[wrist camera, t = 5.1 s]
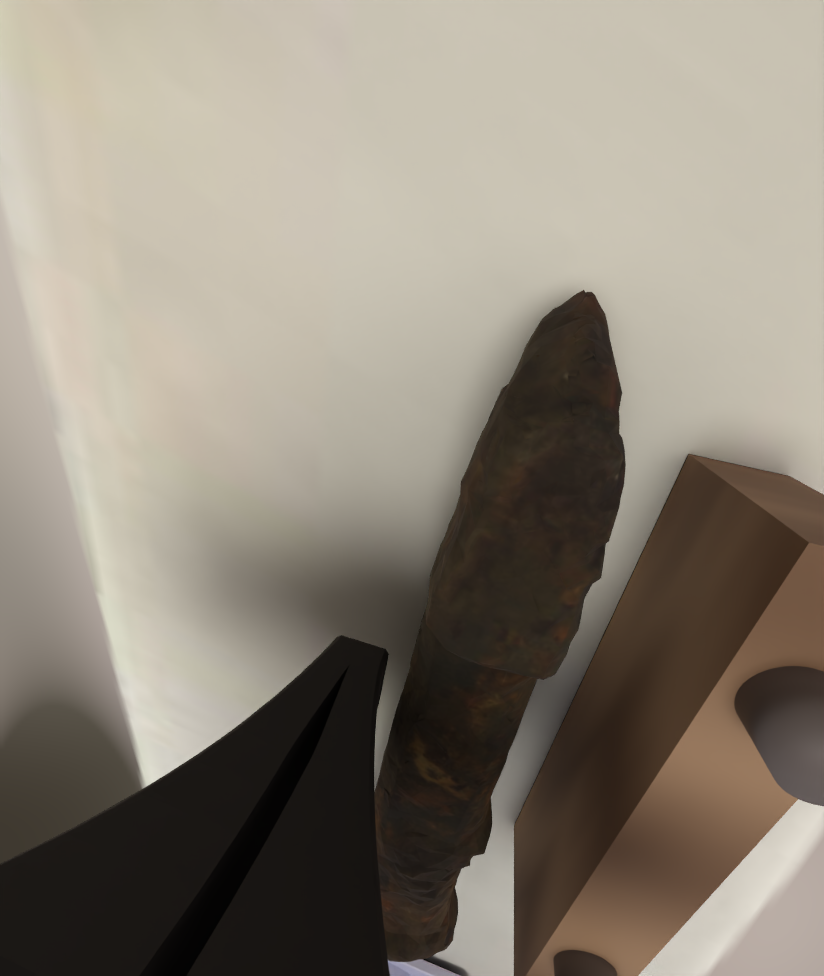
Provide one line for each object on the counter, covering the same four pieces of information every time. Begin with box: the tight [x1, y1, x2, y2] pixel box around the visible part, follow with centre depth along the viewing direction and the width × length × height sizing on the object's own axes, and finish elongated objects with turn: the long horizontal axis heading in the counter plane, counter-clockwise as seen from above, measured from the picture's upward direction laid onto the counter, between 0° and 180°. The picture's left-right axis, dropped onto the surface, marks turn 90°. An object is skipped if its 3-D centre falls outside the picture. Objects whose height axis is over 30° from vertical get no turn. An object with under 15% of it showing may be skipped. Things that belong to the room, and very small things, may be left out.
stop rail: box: [514, 454, 824, 976], centre depth 9 cm, size 14×2×5 cm, turn 170°
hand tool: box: [374, 290, 625, 962], centre depth 10 cm, size 19×4×5 cm, turn 167°
